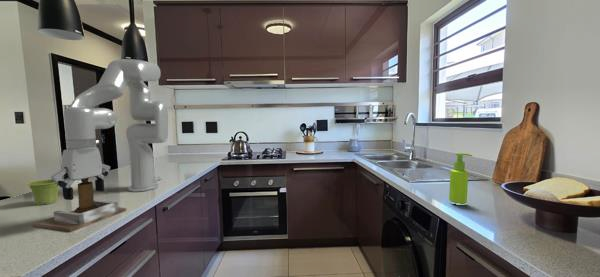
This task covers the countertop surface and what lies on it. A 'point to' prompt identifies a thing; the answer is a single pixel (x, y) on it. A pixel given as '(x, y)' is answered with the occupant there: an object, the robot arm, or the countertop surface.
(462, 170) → the soap dispenser
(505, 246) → the countertop surface
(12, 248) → the countertop surface
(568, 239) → the countertop surface
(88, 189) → the wooden chess pawn
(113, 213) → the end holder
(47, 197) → the plant pot
